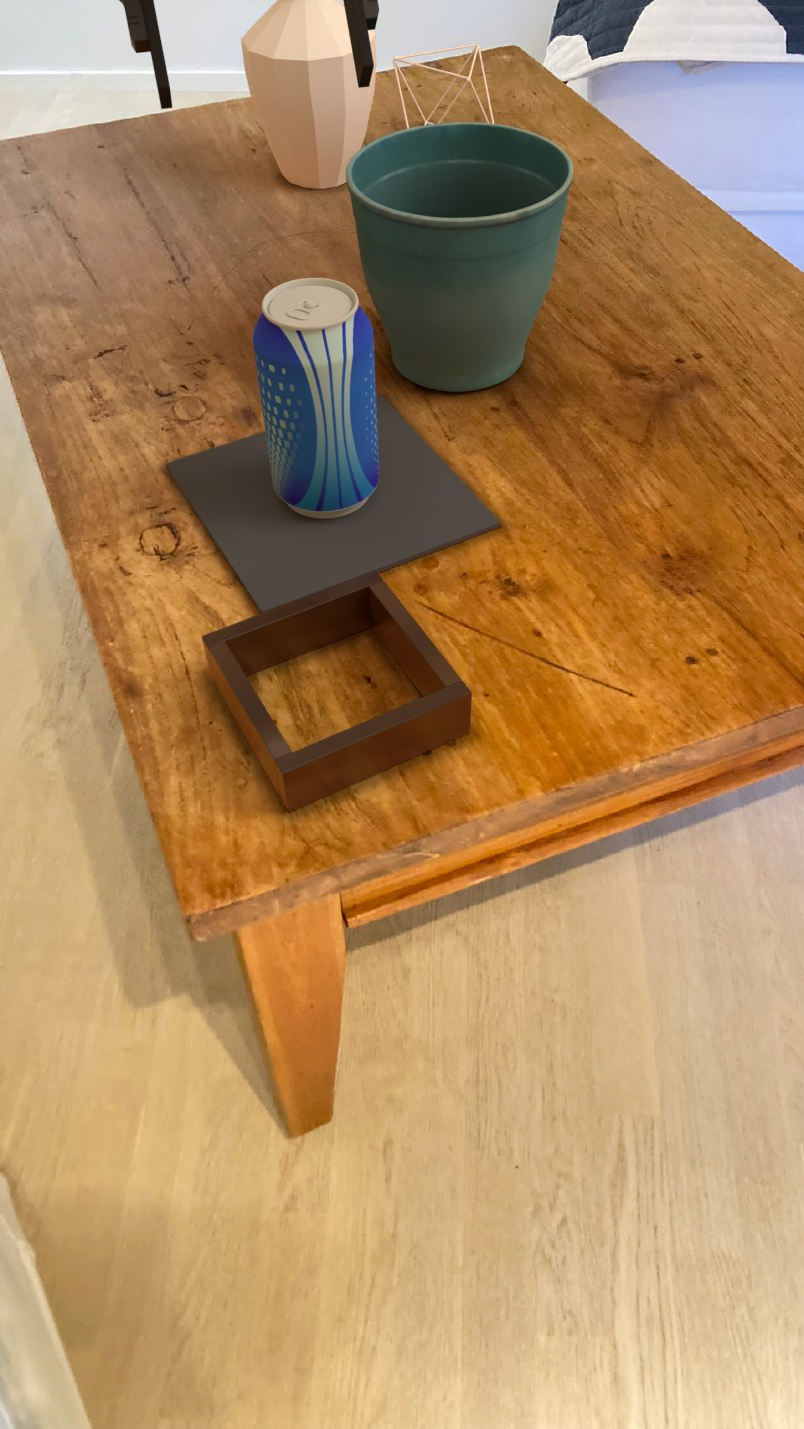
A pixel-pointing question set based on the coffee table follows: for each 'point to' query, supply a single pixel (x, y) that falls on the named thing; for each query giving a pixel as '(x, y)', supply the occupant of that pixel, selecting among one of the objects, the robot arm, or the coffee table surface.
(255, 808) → the coffee table surface
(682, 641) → the coffee table surface
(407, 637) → the can holder
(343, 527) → the rubber mat
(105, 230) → the coffee table surface
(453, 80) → the geometric polyhedron
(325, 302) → the beer can
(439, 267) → the flower pot
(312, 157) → the vase
